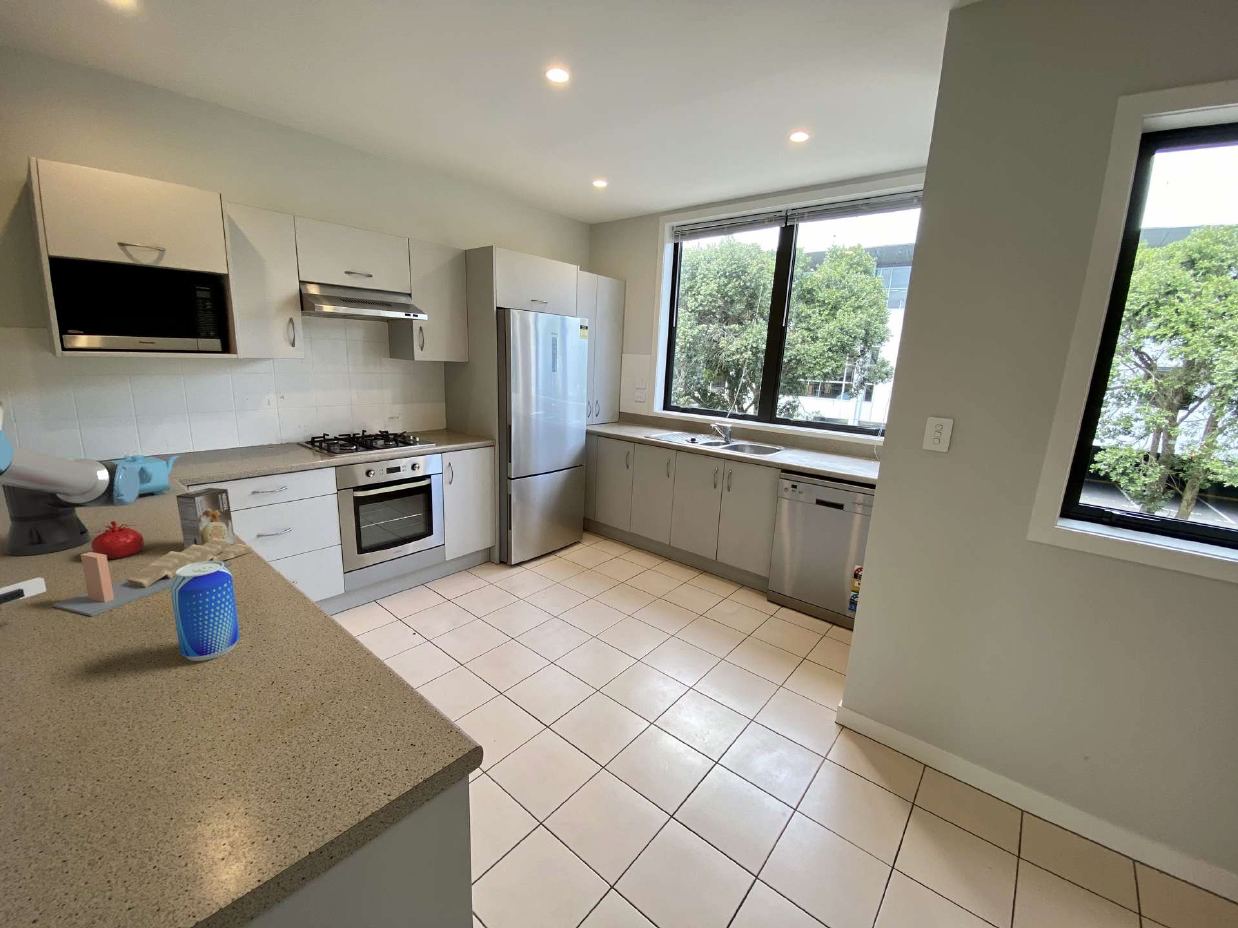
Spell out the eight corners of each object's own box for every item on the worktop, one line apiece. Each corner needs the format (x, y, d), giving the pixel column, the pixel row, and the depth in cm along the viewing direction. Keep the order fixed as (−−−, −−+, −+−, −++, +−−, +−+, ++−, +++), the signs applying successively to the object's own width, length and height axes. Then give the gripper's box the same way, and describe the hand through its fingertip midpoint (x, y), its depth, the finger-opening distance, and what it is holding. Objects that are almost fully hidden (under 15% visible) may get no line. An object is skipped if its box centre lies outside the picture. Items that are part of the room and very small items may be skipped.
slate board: (52, 606, 104) (52, 604, 104) (197, 558, 130) (196, 556, 130) (91, 616, 100) (91, 614, 100) (231, 564, 127) (231, 562, 127)
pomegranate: (113, 565, 125) (106, 530, 123) (82, 560, 127) (75, 525, 125) (156, 550, 135) (151, 517, 132) (127, 545, 136) (121, 513, 134)
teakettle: (155, 500, 179) (149, 460, 176) (92, 501, 174) (85, 460, 172) (187, 487, 197) (182, 450, 194) (130, 488, 193) (124, 450, 190)
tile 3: (166, 573, 116) (207, 546, 124) (151, 570, 117) (193, 544, 126) (170, 579, 117) (210, 551, 125) (155, 575, 118) (196, 549, 126)
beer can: (192, 669, 85) (178, 582, 82) (173, 653, 89) (160, 569, 86) (248, 647, 92) (238, 565, 89) (228, 633, 96) (218, 555, 93)
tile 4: (189, 565, 121) (227, 540, 129) (175, 563, 122) (213, 537, 130) (193, 570, 121) (230, 545, 130) (178, 568, 123) (216, 542, 131)
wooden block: (212, 557, 126) (251, 546, 135) (198, 554, 127) (237, 543, 136) (213, 563, 126) (252, 551, 135) (198, 560, 127) (238, 549, 137)
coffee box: (217, 541, 142) (210, 486, 139) (236, 543, 141) (229, 488, 138) (183, 552, 133) (175, 494, 130) (203, 555, 132) (195, 497, 129)
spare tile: (104, 602, 105) (96, 557, 103) (88, 598, 106) (80, 554, 105) (114, 598, 107) (106, 554, 105) (98, 595, 108) (90, 551, 106)
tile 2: (142, 582, 111) (186, 553, 120) (126, 579, 113) (171, 551, 121) (145, 587, 112) (189, 558, 120) (130, 584, 113) (174, 556, 122)
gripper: (-188, 662, 78) (25, 596, 100) (-141, 678, 74) (68, 607, 96) (-202, 618, 76) (17, 561, 98) (-155, 632, 73) (61, 571, 95)
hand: (42, 584), depth 97 cm, fingers closed
